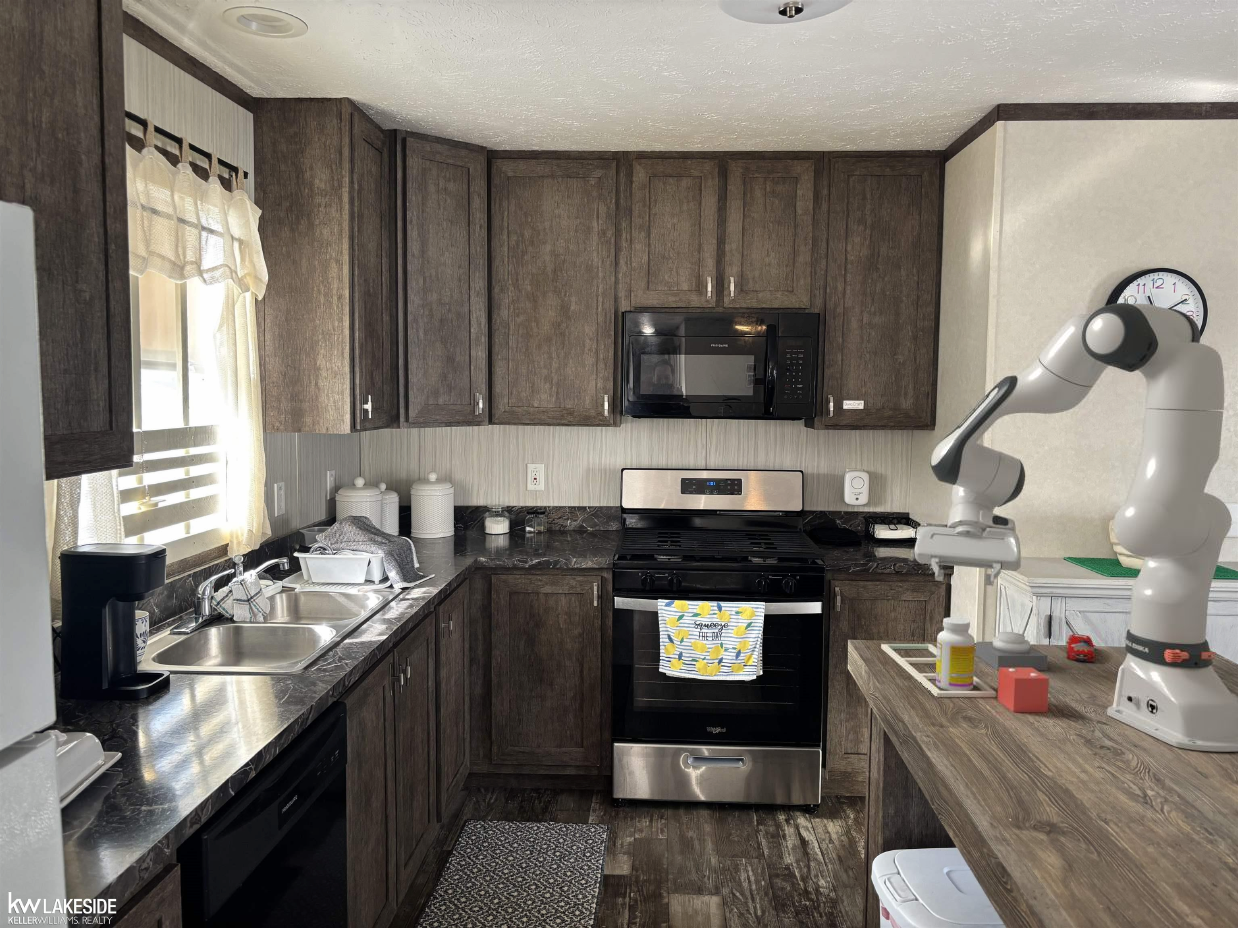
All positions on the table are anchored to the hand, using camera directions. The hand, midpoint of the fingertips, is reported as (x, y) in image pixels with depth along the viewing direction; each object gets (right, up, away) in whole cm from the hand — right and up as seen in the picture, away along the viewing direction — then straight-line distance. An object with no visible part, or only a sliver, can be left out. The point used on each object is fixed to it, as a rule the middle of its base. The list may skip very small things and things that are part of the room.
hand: (963, 581), depth 173 cm
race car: (+30, -18, +12) cm, 37 cm away
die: (+3, -19, -19) cm, 28 cm away
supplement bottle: (-6, -19, -10) cm, 22 cm away
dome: (+12, -15, +6) cm, 20 cm away
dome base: (+12, -18, +6) cm, 22 cm away
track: (-6, -18, 0) cm, 19 cm away
